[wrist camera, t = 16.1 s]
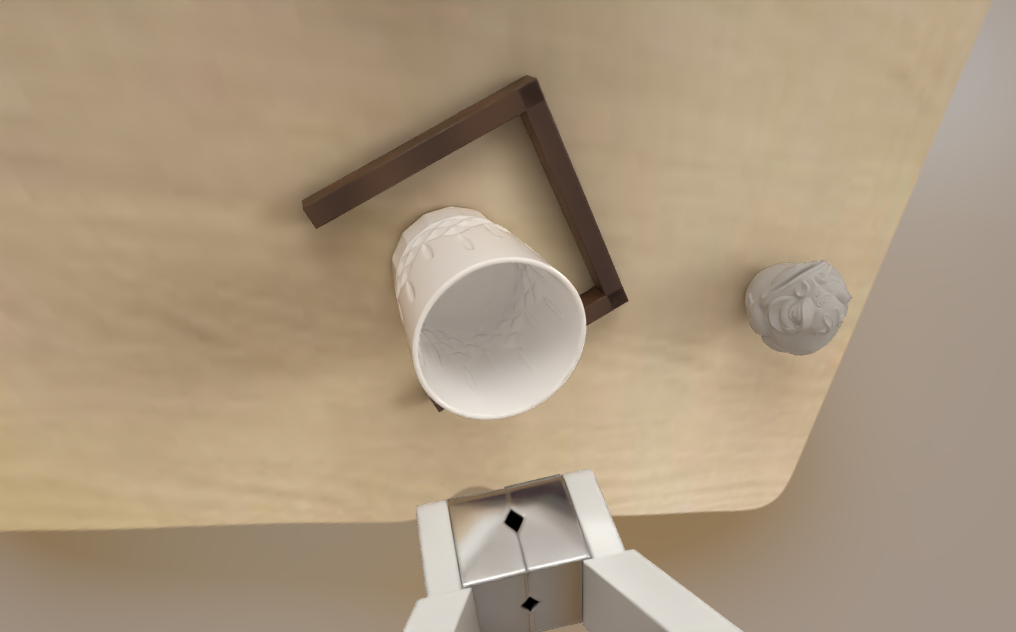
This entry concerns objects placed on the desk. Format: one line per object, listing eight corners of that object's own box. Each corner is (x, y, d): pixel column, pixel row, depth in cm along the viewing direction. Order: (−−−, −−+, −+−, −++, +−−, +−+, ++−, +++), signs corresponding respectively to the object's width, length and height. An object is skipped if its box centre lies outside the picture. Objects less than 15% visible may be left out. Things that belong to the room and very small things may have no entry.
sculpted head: (787, 217, 43) (869, 253, 37) (808, 300, 47) (886, 345, 41) (708, 265, 43) (778, 309, 37) (735, 345, 47) (803, 397, 41)
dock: (434, 399, 41) (439, 412, 40) (301, 200, 34) (302, 209, 33) (618, 291, 42) (628, 301, 41) (527, 74, 35) (536, 77, 33)
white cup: (516, 318, 41) (581, 406, 32) (385, 335, 38) (417, 434, 30) (519, 190, 37) (592, 249, 29) (375, 200, 35) (407, 267, 26)
